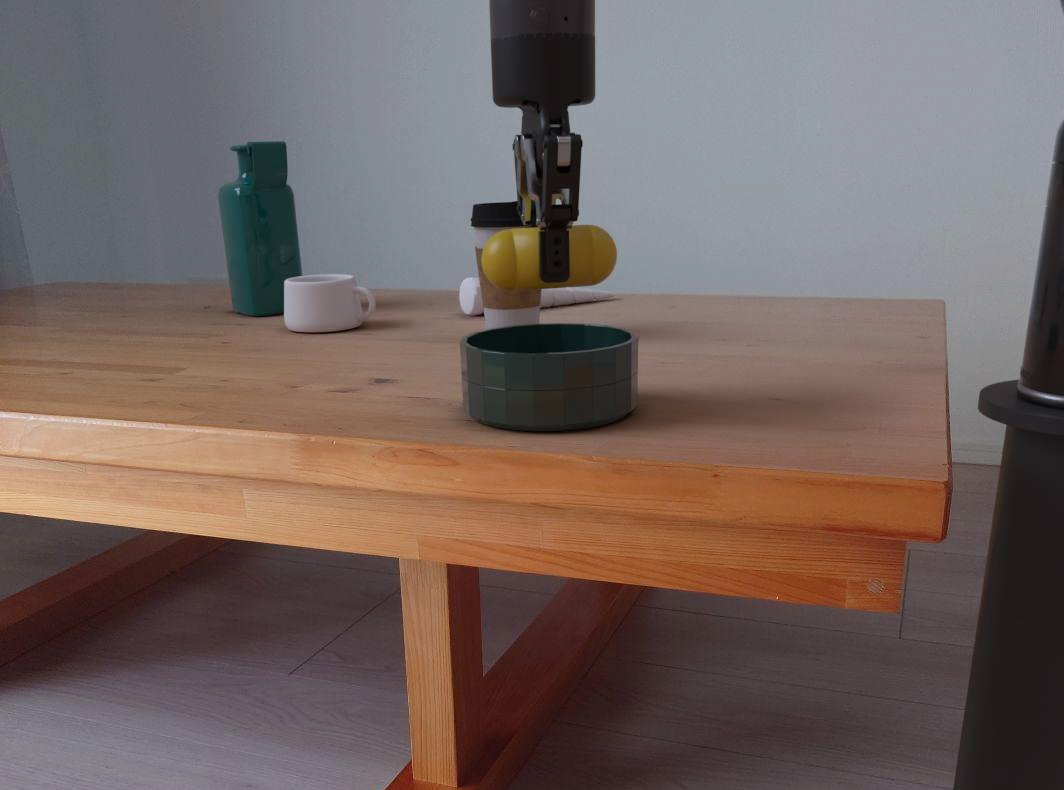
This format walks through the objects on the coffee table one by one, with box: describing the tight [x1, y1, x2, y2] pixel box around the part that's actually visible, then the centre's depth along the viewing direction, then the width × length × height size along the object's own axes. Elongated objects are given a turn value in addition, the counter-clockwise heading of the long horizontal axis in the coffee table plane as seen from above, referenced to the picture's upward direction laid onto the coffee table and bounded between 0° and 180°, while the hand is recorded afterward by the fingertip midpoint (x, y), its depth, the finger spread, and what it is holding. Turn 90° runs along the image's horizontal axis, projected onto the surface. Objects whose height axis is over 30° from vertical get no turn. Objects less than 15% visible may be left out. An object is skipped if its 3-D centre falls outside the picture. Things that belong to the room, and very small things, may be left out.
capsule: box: [481, 224, 618, 291], centre depth 78 cm, size 11×5×5 cm
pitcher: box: [217, 140, 303, 317], centre depth 136 cm, size 10×8×22 cm
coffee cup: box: [470, 200, 541, 330], centre depth 112 cm, size 8×8×15 cm
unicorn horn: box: [458, 276, 617, 317], centre depth 135 cm, size 5×24×5 cm, turn 116°
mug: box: [283, 273, 376, 333], centre depth 124 cm, size 12×10×6 cm
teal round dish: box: [459, 322, 639, 432], centre depth 81 cm, size 14×14×6 cm
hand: (547, 277), depth 78 cm, fingers closed on capsule, 4 cm apart
